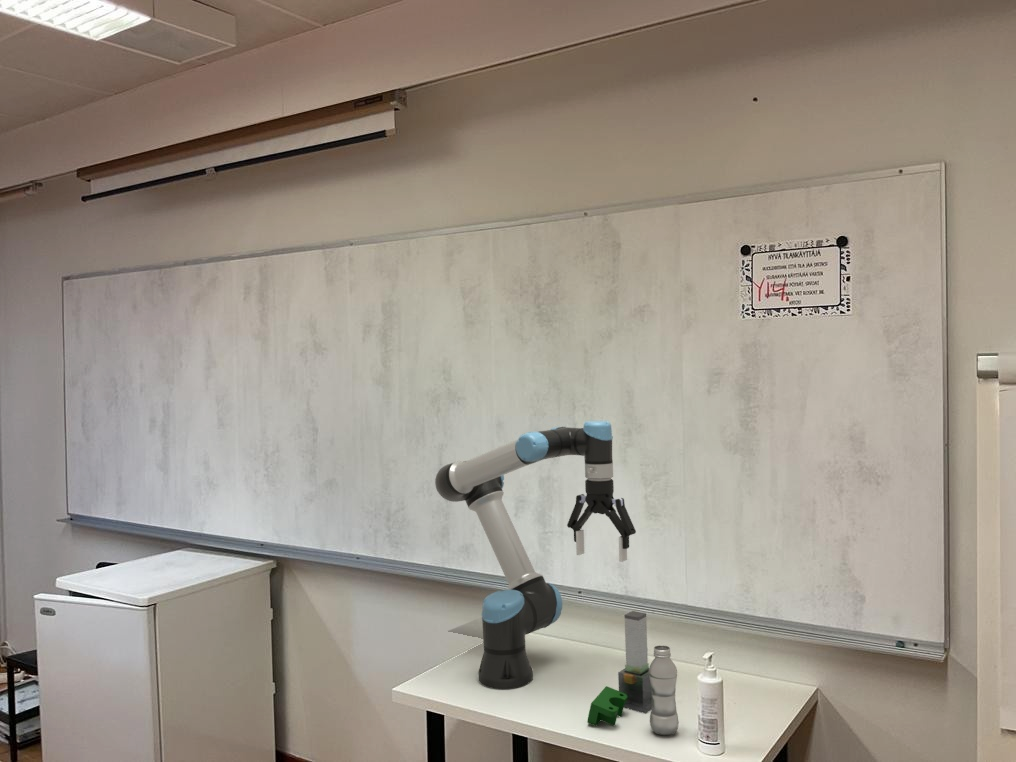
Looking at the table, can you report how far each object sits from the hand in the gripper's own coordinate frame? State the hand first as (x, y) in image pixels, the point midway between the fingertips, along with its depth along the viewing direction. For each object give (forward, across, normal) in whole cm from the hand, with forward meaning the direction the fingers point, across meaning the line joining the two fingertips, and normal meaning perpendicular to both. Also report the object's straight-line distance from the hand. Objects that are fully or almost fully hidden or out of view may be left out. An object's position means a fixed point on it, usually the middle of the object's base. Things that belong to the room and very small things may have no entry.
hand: (601, 557), depth 222 cm
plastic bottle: (+35, +27, -16) cm, 47 cm away
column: (+27, +13, -5) cm, 30 cm away
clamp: (+35, +12, -18) cm, 41 cm away
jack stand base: (+34, +13, -5) cm, 37 cm away
